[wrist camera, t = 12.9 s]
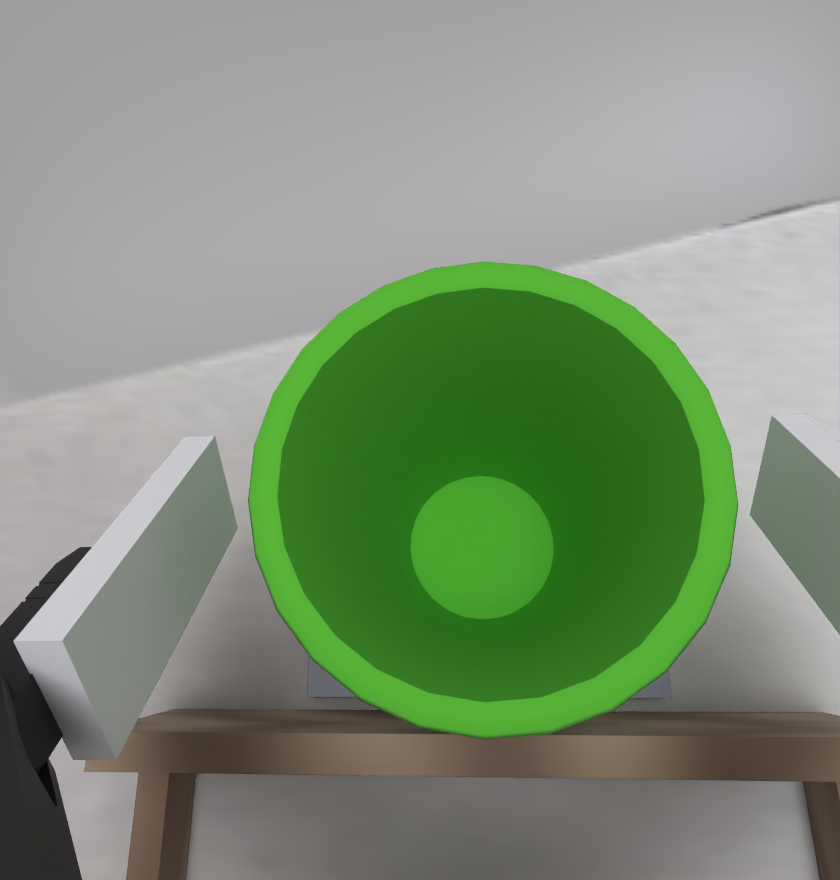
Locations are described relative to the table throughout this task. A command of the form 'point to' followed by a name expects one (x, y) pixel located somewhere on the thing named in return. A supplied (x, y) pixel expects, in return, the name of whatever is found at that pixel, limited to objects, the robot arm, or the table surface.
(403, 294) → the cup
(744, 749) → the stall
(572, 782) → the table surface
